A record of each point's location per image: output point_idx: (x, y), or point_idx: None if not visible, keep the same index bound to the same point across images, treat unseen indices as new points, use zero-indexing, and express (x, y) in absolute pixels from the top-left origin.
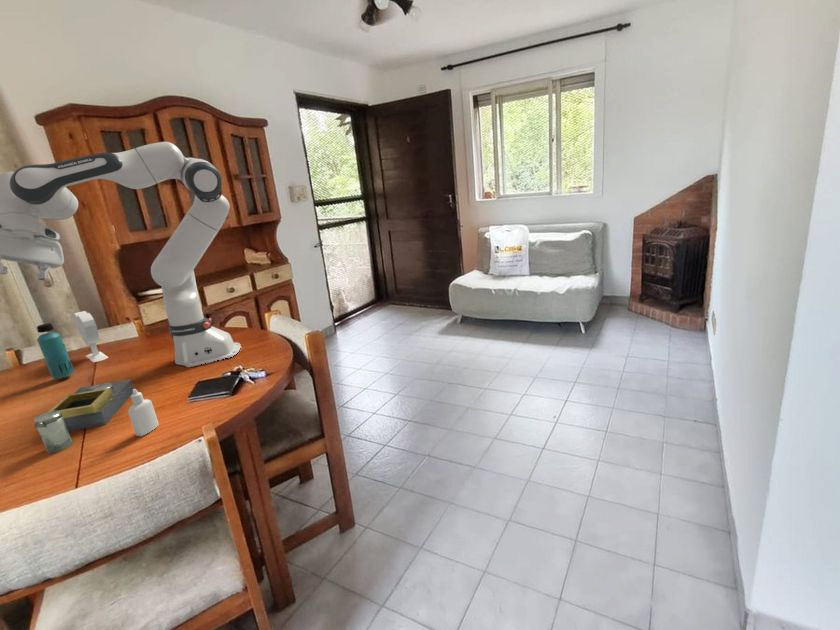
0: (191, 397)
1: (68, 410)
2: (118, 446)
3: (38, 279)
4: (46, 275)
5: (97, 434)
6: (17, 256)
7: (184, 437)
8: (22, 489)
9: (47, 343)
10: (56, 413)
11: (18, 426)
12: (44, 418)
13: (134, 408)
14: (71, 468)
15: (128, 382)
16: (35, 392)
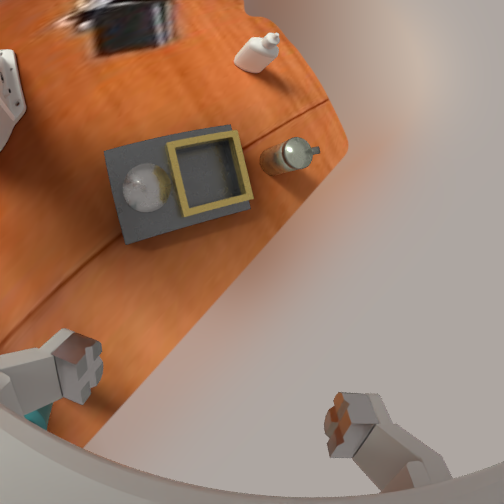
0: (159, 42)
1: (245, 164)
2: (277, 85)
3: (101, 363)
4: (50, 339)
5: (247, 127)
6: (303, 500)
7: (266, 24)
8: (336, 148)
9: (40, 408)
10: (294, 142)
11: (210, 288)
12: (305, 151)
13: (277, 47)
14: (311, 117)
15: (117, 147)
16: None
